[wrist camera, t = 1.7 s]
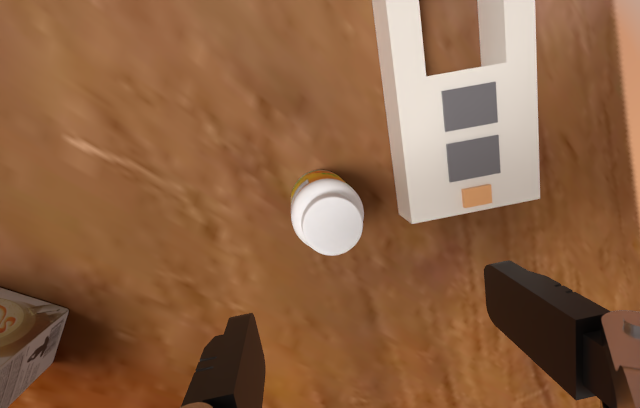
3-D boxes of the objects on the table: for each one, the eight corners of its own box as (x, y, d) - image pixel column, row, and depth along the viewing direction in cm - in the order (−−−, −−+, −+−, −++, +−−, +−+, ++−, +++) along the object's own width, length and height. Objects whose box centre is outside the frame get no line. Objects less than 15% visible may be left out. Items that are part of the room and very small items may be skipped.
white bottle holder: (369, -17, 27) (382, -41, 24) (503, -38, 28) (537, -65, 24) (398, 214, 32) (413, 225, 28) (513, 191, 32) (543, 199, 29)
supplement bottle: (359, 189, 31) (390, 214, 22) (327, 236, 32) (343, 280, 22) (311, 157, 30) (321, 169, 21) (279, 206, 31) (275, 239, 21)
